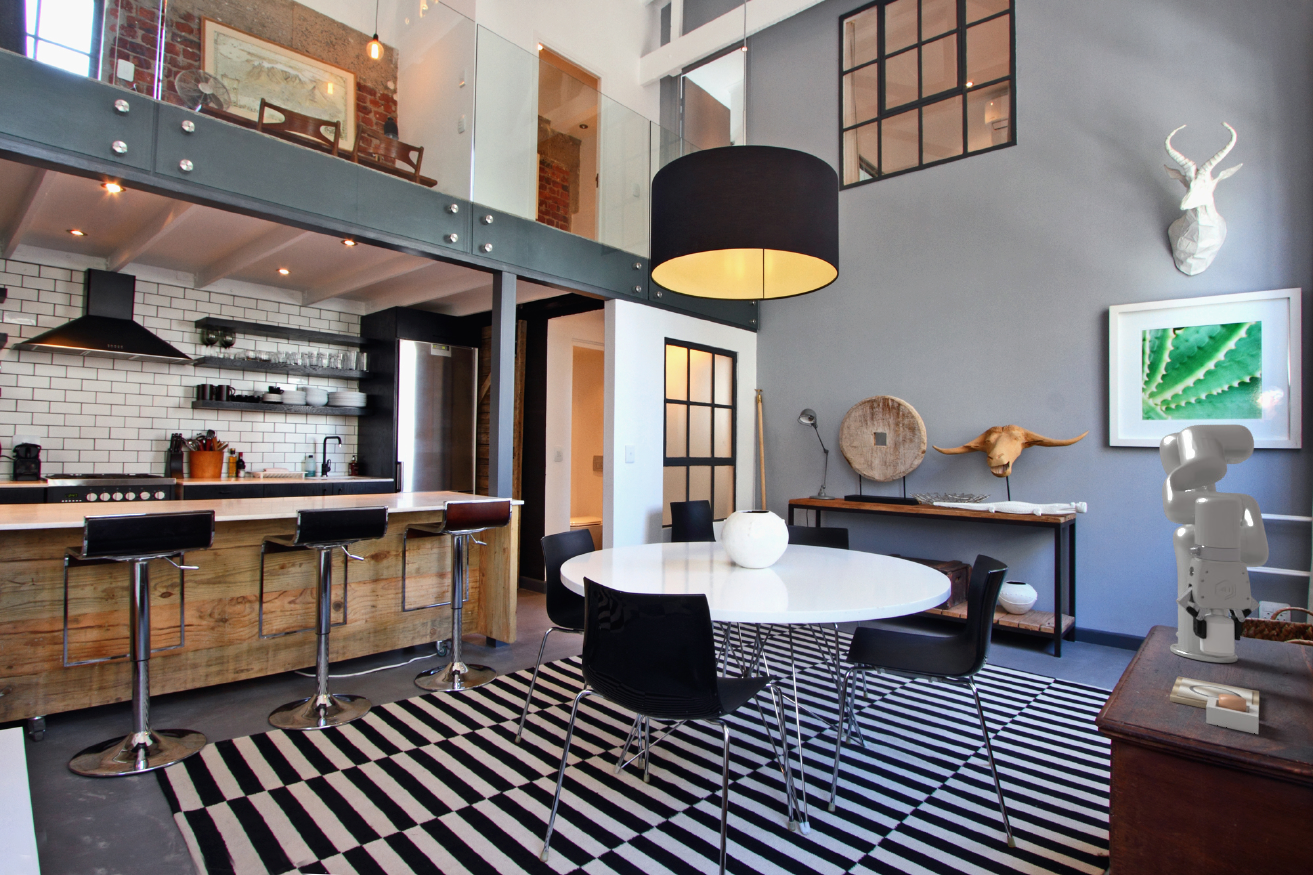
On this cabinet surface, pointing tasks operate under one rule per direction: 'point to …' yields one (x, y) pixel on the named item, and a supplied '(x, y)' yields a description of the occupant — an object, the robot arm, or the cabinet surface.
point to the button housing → (1232, 716)
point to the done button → (1232, 702)
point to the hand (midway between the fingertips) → (1217, 636)
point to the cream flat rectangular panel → (1207, 692)
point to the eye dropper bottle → (1218, 634)
